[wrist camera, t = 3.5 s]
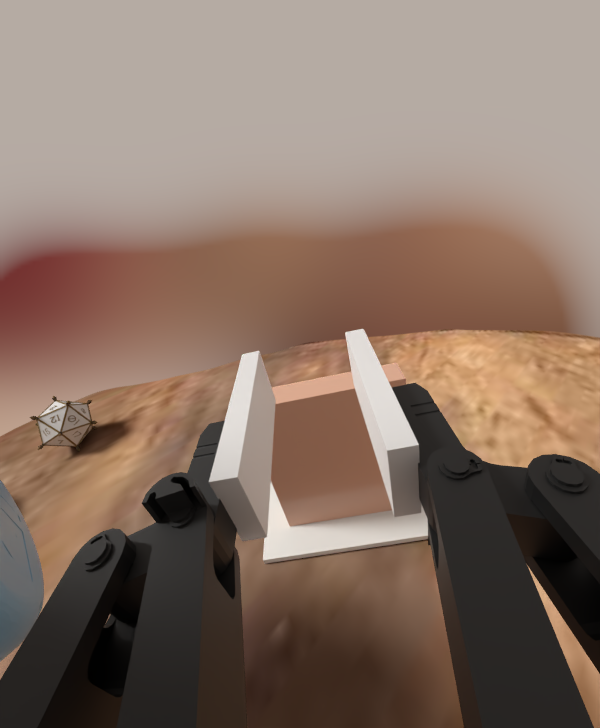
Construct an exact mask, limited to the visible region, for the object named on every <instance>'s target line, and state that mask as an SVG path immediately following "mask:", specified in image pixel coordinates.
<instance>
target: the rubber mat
mask: <svg viewBox="0 0 600 728" xmlns="http://www.w3.org/2000/svg"><path fill="white" fill-rule="evenodd" d="M426 539H428V519H427V516H426V514H425V511H424V509H423V506H422V504H421V513H418V514H412V515H406V516H399V517H394V514H393V511H392V510H390V511H384V512H377V513H371V514H365V515H359V516H352V517H346V518H340V519H334V520H327V521H321V522H315V523H309V524H302V525H296V526H289V524H288V521H287V519H286V516H285V514H284V512H283V509H282V507H281V504H280V502H279V499H278V497H277V495H276V492H275V490H274V487H273V485H272V483H271V484H270V500H269V517H268V533H267V537H266V538H265V539H264V554H263V561H264V563H265V564H266V563H273V562H279V561H286V560H293V559H299V558H306V557H312V556H319V555H326V554H332V553H339V552H346V551H352V550H359V549H366V548H372V547H379V546H386V545H392V544H399V543H406V542H412V541H419V540H426Z"/></svg>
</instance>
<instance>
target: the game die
mask: <svg viewBox="0 0 600 728" xmlns="http://www.w3.org/2000/svg"><path fill="white" fill-rule="evenodd" d="M52 399H53V400H54V402H53V403H52V404H51V405H50V406H49V407H48V408H47V409H46V410H45V411H44V412H42V413H41V414H40V415H39V416H38V417H36V416H33V417H30V418H31V419H32V420H36V421H37V423H36V425H37V426H38V429H39V433H40V437H41V441H42V445H40V446H38V450H39V449H42V447H43V446H44V445H47V446H72V447H76V449H77V450H78V451H80V447H79V446H78V445H79V444H80V443H81V441H82V440H83V439H84V438H85V437H86V435H87V434H88V433H89V432H90V430H91V429H94V430H95V429H97V428H96V427H94V426H92V424H96V423H97V422H96V421H92V419H91V415H90V410H89V406H88V404H90V403H91V401H92V400H88V401H87V403H79V402H69V401H58V400H57V399H56V397H55V396H53V398H52Z"/></svg>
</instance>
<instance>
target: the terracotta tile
mask: <svg viewBox="0 0 600 728" xmlns="http://www.w3.org/2000/svg"><path fill="white" fill-rule="evenodd" d="M381 367H382V369H383V371H384V373H385V375H386V377H387V379H388V381H389V383H390V386H391V387H396V386H401V385H406V378H405V377H404V375H403V373H402V371H401V370H400V368H399V366H398V364H397V363H391V364H386V365H381ZM272 391H273V394H274V397H275V400H276V403H275V419H274V435H273V452H272V468H271V483H272V485H273V487H274V490H275V492H276V495H277V497H278V499H279V502H280V504H281V507H282V509H283V512H284V514H285V516H286V519H287V521H288V524H289V526H296V525H302V524H309V523H315V522H321V521H327V520H334V519H340V518H346V517H352V516H359V515H365V514H371V513H377V512H384V511H390V510H392V508H391V504H390V501H389V498H388V495H387V491H386V488H385V485H384V482H383V478H382V475H381V472H380V469H379V465H378V462H377V459H376V455H375V452H374V449H373V446H372V442H371V439H370V436H369V433H368V429H367V426H366V423H365V420H364V416H363V413H362V410H361V407H360V403H359V400H358V397H357V394H356V390H355V387H354V383H353V377H352V371H351V372H346V373H342V374H337V375H332V376H327V377H322V378H317V379H312V380H307V381H302V382H297V383H292V384H287V385H282V386H277V387H272Z"/></svg>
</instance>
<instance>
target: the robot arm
mask: <svg viewBox="0 0 600 728" xmlns="http://www.w3.org/2000/svg"><path fill="white" fill-rule="evenodd" d="M345 334H346V340H347V346H348V353H349V359H350V365H351V371H352V377H353V383H354V387H355V390H356V394H357V397H358V400H359V403H360V407H361V410H362V413H363V416H364V420H365V423H366V426H367V429H368V433H369V436H370V439H371V442H372V446H373V449H374V452H375V455H376V459H377V462H378V465H379V469H380V472H381V475H382V478H383V482H384V485H385V488H386V491H387V495H388V498H389V501H390V504H391V508H392V511H393V514H394V517H399V516H406V515H412V514H418V513H421V504H422V506H423V509H424V511H425V514H426V516H427V519H428V545H431V549H432V555H433V560H434V566H435V571H436V576H437V582H438V587H439V593H440V598H441V604H442V609H443V614H444V620H445V625H446V631H447V636H448V642H449V647H450V652H451V658H452V663H453V669H454V674H455V680H456V685H457V690H458V696H459V701H460V707H461V712H462V718H463V723H464V728H594V727H593V724H592V722H591V720H590V717H589V715H588V712H587V710H586V707H585V705H584V702H583V700H582V698H581V695H580V693H579V690H578V688H577V685H576V683H575V681H574V678H573V676H572V673H571V671H570V668H569V666H568V664H567V661H566V659H565V656H564V654H563V651H562V649H561V647H560V644H559V642H558V639H557V637H556V634H555V632H554V630H553V627H552V625H551V622H550V620H549V617H548V615H547V612H546V610H545V608H544V605H543V603H542V600H541V598H540V595H539V593H538V591H537V588H536V586H535V583H534V581H533V578H532V576H531V574H530V571H529V569H528V566H529V568H530V569H531V571H532V572H533V574H534V575H535V577H536V578H537V580H538V581H539V583H540V584H541V586H542V587H543V589H544V590H545V592H546V593H547V595H548V596H549V598H550V599H551V601H552V602H553V604H554V605H555V607H556V609H557V610H558V612H559V613H560V615H561V616H562V618H563V619H564V621H565V622H566V624H567V625H568V627H569V628H570V630H571V631H572V633H573V634H574V636H575V637H576V639H577V640H578V642H579V643H580V645H581V646H582V648H583V649H584V651H585V652H586V654H587V655H588V657H589V658H590V660H591V661H592V663H593V664H594V666H595V667H596V669H597V670H598V672H599V673H600V474H599V473H598V472H597V471H595V470H594V469H592V468H591V467H589V466H588V465H587V464H585V463H583V462H581V461H578V460H576V459H573V458H571V457H567V456H562V455H556V454H552V455H541V456H539V457H537V458H534V459H533V460H532V461H531V463H530V464H529V465H528V468H522V467H512V466H501V465H495V464H490V463H487V462H485V461H482V460H481V458H479V457H478V456H476V455H475V454H474V453H472V452H470V451H467V450H466V449H465V448H464V447H463V446H462V444H461V443H460V441H459V440H458V438H457V437H456V435H455V433H454V432H453V430H452V429H451V427H450V426H449V424H448V422H447V421H446V419H445V418H444V416H443V415H442V413H441V412H440V411H439V408H438V407H437V405H436V404H435V403H434V401H433V399H432V397H431V396H430V394H429V393H428V391H427V390H425V389H424V388H422V387H421V386H419V385H418V384H416V383H412V384H407V385H401V386H396V387H391V386H390V383H389V381H388V379H387V377H386V375H385V373H384V371H383V369H382V367H381V365H380V363H379V361H378V358H377V356H376V354H375V352H374V350H373V348H372V346H371V344H370V342H369V340H368V338H367V336H366V333H365V332H364V329H360V330H355V331H350V332H346V333H345ZM275 403H276V400H275V397H274V394H273V391H272V388H271V385H270V382H269V379H268V376H267V373H266V370H265V367H264V364H263V361H262V358H261V355H260V352H259V351H256V352H252V353H247V354H242V357H241V361H240V365H239V369H238V373H237V376H236V380H235V384H234V388H233V392H232V395H231V399H230V403H229V407H228V411H227V414H226V418H225V421H221V422H216V423H211V424H209V425H208V426H207V428H206V429H205V430H204V431H203V433H202V434H201V435H200V438H199V441H198V444H197V449H196V450H195V453H194V456H193V459H192V461H191V464H190V467H189V470H188V473H182V472H180V473H174V474H171V475H169V476H167V477H165V478H162V479H161V480H160V481H158V482H157V483H156V484H155V485H153V486H152V488H151V489H150V490H149V491H148V492H147V494H146V495H145V497H144V500H143V502H142V504H143V506H144V507H145V508H146V510H147V511H148V512H149V513H150V515H151V516H152V517H153V518H154V520H155V521H156V523H154V524H152V525H151V526H148V527H146V528H144V529H142V530H140V531H138V532H136V533H134V534H131V535H129V536H126V535H125V534H124V533H123V532H122V531H121V530H120V529H109V530H106V531H103V532H101V533H99V534H98V535H96V536H94V537H93V538H91V539H90V540H89V541H88V542H87V543H86V544H85V545H84V546H83V547H82V548H81V549H80V551H79V552H78V553H77V554H76V556H75V557H74V559H73V560H72V562H71V564H70V565H69V567H68V569H67V570H66V572H65V574H64V575H63V577H62V579H61V580H60V582H59V584H58V585H57V587H56V589H55V590H54V592H53V594H52V595H51V597H50V599H49V600H48V602H47V604H46V605H45V607H44V608H43V610H42V612H41V613H40V611H41V609H42V605H43V598H44V581H43V573H42V568H41V563H40V560H39V556H38V553H37V550H36V547H35V544H34V541H33V538H32V536H31V534H30V531H29V529H28V527H27V524H26V522H25V520H24V518H23V516H22V514H21V512H20V510H19V508H18V507H17V505H16V503H15V501H14V500H13V498H12V496H11V495H10V493H9V492H8V490H7V489H6V487H5V486H4V484H3V483H2V481H1V480H0V661H2V660H3V659H4V658H5V657H6V656H7V655H8V654H10V653H11V652H12V651H13V650H14V649H15V648H17V647H18V646H19V645H20V644H21V643H22V642H23V641H24V642H23V643H22V645H21V647H20V648H19V650H18V652H17V653H16V655H15V657H14V658H13V660H12V662H11V663H10V665H9V667H8V668H7V670H6V672H5V673H4V675H3V677H2V678H1V680H0V728H247V714H246V693H245V671H244V649H243V627H242V605H241V584H240V562H239V555H238V551H237V549H236V548H235V539H236V532H237V533H238V534H239V536H240V538H241V540H242V541H247V540H254V539H260V538H266V537H267V533H268V517H269V500H270V484H271V468H272V452H273V435H274V419H275ZM526 563H527V564H526ZM527 565H528V566H527ZM39 613H40V615H39ZM109 614H111V615H110V618H109V619H108V616H109ZM38 616H39V617H38ZM107 619H108V621H107ZM106 621H107V622H106ZM105 623H106V624H105ZM24 639H25V640H24Z"/></svg>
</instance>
